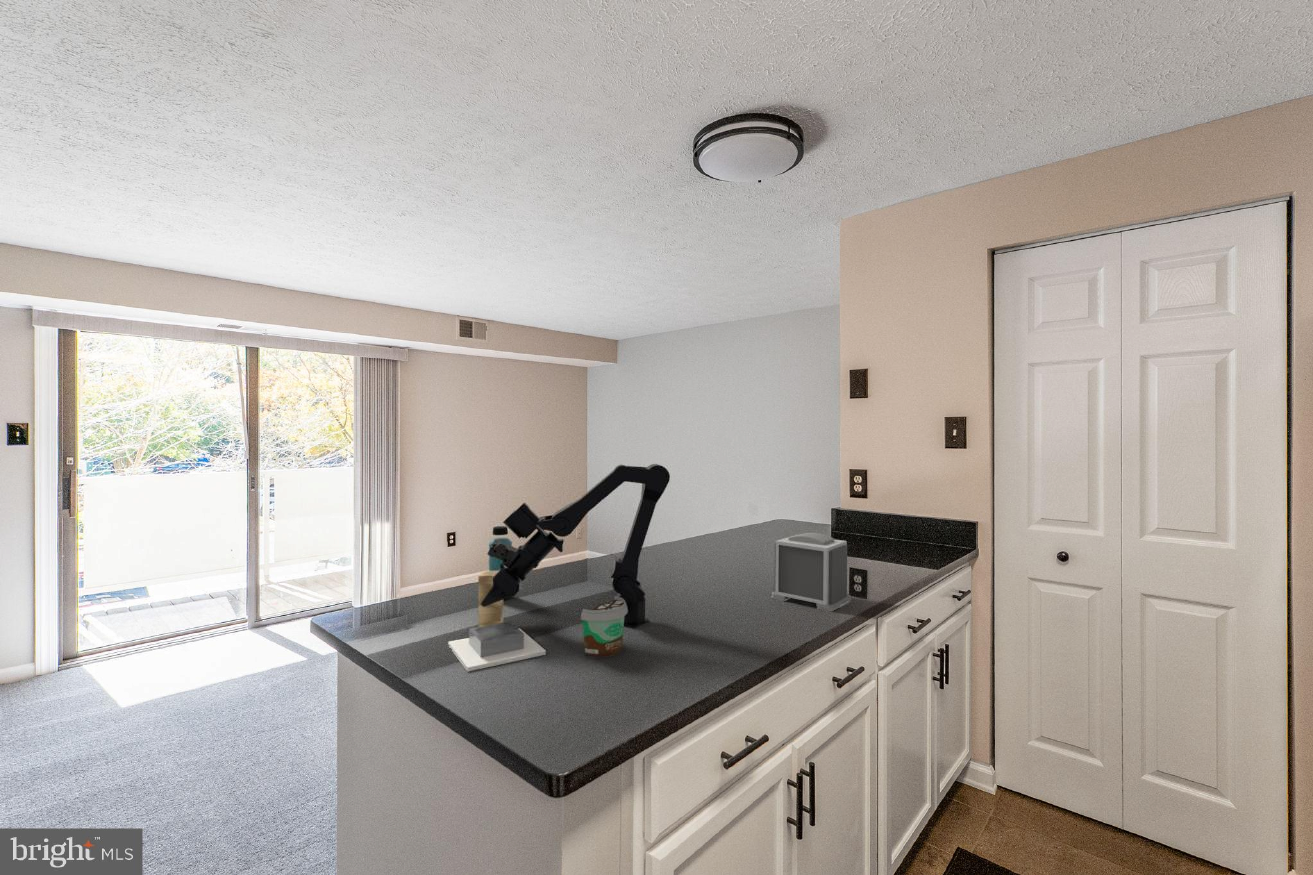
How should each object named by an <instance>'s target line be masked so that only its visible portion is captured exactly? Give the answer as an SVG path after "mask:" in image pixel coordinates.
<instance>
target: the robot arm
mask: <svg viewBox="0 0 1313 875" xmlns="http://www.w3.org/2000/svg"><path fill="white" fill-rule="evenodd" d="M670 478H671V475H670V472H669V470H668V468H666V467H665V466H663V465H661V464H658V463H653V464H650V465H648V466H646V467H645V466H636V465H635V466H633V465H632V466H631V465H625V464H618V465H616V466H615V468H614V469H613V470H612V471H611V472H609V473H608V474H607V475H606V476H604V477H603V478H602V479H601V480H599V482H598V483H596V484H595V485H594V486H592V487H591V489H589V490H588V491H587V492H586V493H584V494H583V495H581V497H579V498H578V499H576V500H575V501H573V502H571V503H569V504H567V505H565V506H564V507H562V508H561V509H559V510H557V511H556V512H554V513H553V514H551V515H543V516H538V515H537V513H535V511H533V510H532V509H531V508H530V506H529V505H528V504H527V503H526V502H523V503H522V504H521V505H520V506H519V507H517V509H515V510H514V511H513V512H511V513H510V514H509V515H508V516H507V517H506V518H505V519H504V521H502V523H503V525H504V526H506V527H507V529H509V530H510V532H512V533H513V534H514V535H515V536H516V537H517V538H518V539H521V538H522V539H528V538H529V537H530V538H529V539H528V540H527V541H526V542H525V543H524V544H521V545H519V546H518V547H514V546H511V545H509V544H506V543H504V542H502V541H500V540H497V539H495V540H494V541H493V543H492V545H491V547H490V549H489V548H488V551H487V556H488V557H489V556H491V557H495V558H498V559H500V560H502V561H503V563H501V565H500V570H499V571H498V572H497V573H496V574H495V575H494V577H493V587H492V588H491V590H490V591H489V593H488V594H487V595H486V597H485V598H484V600H483V601H482V603H481V605H482V606H483V607H486V606H488V605H490V604H493V603H495V602H498V601H500V600H503V601H504V600H505V599H508V598H512V597H514V596H516V595H517V594H518V593H519V591H520V589H521V588H522V582H523V581H524V580H525V579H526V578H527V576H528V575H529V574H530V573H531V572H532V571H533V570H534V569H537V567H539V565H540V563H541V562H542V561H543V560H544V559H545V558H546V557H547V556H548V555H549V554H550V553H551V552H552V551H553V550H554V549H556V550H558V552H560V553H563V551H564V543H565V542H564V541H565V540H564V538H565V537H568V536H570V535H571V534H572V532H573V531H574V530H575V529H576V528H577V527H578V526H579V524H580V523H581V522H582V520H583V519H584V518H585V517H586V516H587V514H588V513H589V512H590V511H591V510H593V509H594V508H595V507H596V506H597V505H598V504H600V503H601V502H602V501H603V500H605V499H606V498H607V497H608V496H609V495H610V494H612V493H613V492H614V491H615V490H617V489H618V488H619V487H620V486H621V485H622V484H624V483H626V482H628V483H634V484H641V493H640V500H639V503H638V506H637V509H636V512H635V515H634V519H633V522H632V524H631V529H630V532H629V533H628V538H627V541H626V544H625V547H624V550H623V552H622V553H621V555H620V557H617V556H614V557H613V561H612V563H613V564H612V566H611V568H610V569H609V576H610V580H611V585H612V587H613V590H614V591H615V593H617V594H619V595H617V597H620V598H623V599H624V600H625V603H626V605H627V610H628V613H627V614H626V615H625V616H624V627H627V628H632V629H635V628H637V627H639V626H641V625H643V624H646V623H648V622H650V619H649V618H647V617H646V597H645V595H646V593H645V589H644V587H643V585H642V582H640V581H639V580H638V573H639V562H640V561H639V560H640V555H641V554H642V553H641V552H642V548H643V546H644V544H645V540H646V536H647V535H648V531H649V529H650V528H649V527H650V523H651V522H652V518H653V515H654V512H655V509H656V506H657V503H658V501H659V500H660V498H661V497H662V496H663V495H664V492H665V490H666V488H667V487H668V484H669V482H670V480H671V479H670ZM536 530H537V531H536ZM535 531H536V532H535ZM547 531H548V532H547ZM534 532H535V533H534ZM533 533H534V534H533ZM531 534H533V535H532V536H531ZM559 537H560V538H561V537H563V538H561V539H560V538H559Z"/></svg>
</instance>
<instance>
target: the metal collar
mask: <svg viewBox="0 0 1313 875" xmlns="http://www.w3.org/2000/svg"><path fill="white" fill-rule="evenodd" d="M523 632H524V631H523ZM523 632H521V631H520V630H519V627H517V626H516V625H515V624H514V623H512V622H511V621H505V622H504V621H503V623H499V624H493V625H487V626H482V627H471V628H468V638H469V644H470V646H471V647H472V648H473V649H474V650H475V652H476V653H477V654H478V655H479V656H480V658H481V657H486V656H491V655H496V654H501V653H505V652H510V651H515V650H520V649H524V633H523Z"/></svg>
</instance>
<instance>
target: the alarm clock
mask: <svg viewBox="0 0 1313 875" xmlns="http://www.w3.org/2000/svg"><path fill="white" fill-rule="evenodd" d="M847 543H848V542H847V540H842V539H841V540H840V539H835V538H834V537H831V536H829V535H826V534H823V533H820V532H804V533H799V534H795V535H793V536H788V537H785V538H782V539H778V540H775V542H774V591H772V592H771V599H772V598H774V599H781V600H785V599H788V598H792V599H795V600H800V601H806V602H809V603H810V602H811V603H815V604H816V606H820V607H824V608H837V607H838V606H840V605H841V604H844V603H846V602H847V601H850V600H851V601H852V596H851V595H850V594H848V545H847Z"/></svg>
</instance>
